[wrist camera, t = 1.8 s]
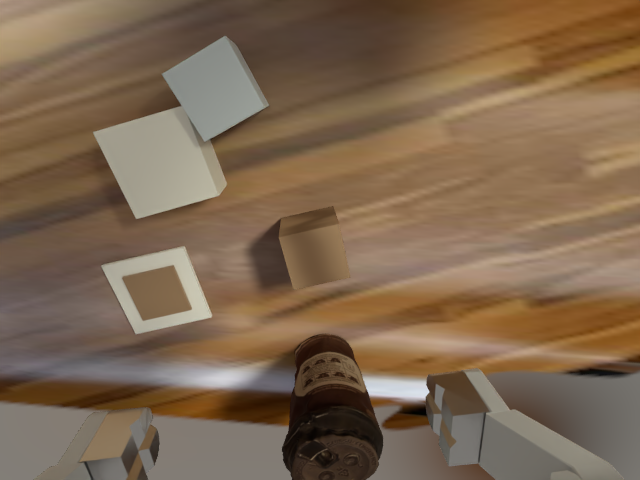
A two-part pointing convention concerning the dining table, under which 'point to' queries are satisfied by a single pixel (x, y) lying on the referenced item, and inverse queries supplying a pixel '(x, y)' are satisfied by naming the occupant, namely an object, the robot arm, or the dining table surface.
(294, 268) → the walnut cube
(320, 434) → the coffee cup
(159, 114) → the plinth block
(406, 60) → the dining table surface
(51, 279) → the dining table surface
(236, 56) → the grey cube
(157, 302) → the tile
